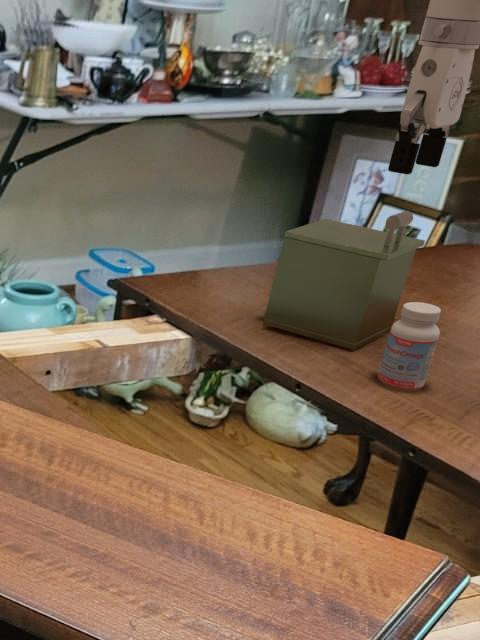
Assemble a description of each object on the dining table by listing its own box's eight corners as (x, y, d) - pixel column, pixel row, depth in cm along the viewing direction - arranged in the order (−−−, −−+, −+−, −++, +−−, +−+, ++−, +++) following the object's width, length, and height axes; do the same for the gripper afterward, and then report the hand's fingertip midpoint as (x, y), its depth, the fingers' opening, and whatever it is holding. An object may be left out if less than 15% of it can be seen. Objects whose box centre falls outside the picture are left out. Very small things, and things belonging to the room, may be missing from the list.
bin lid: (423, 245, 164) (434, 210, 162) (386, 260, 156) (397, 223, 153) (324, 223, 173) (333, 189, 171) (284, 236, 165) (292, 200, 162)
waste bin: (390, 331, 172) (417, 244, 165) (353, 350, 163) (380, 259, 156) (302, 307, 181) (324, 224, 173) (262, 324, 172) (284, 237, 165)
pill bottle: (368, 388, 150) (390, 307, 144) (385, 376, 154) (406, 297, 148) (414, 399, 147) (437, 317, 141) (429, 387, 151) (453, 306, 145)
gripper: (456, 39, 140) (415, 180, 149) (502, 35, 150) (462, 167, 159) (397, 33, 144) (362, 171, 153) (447, 30, 155) (411, 158, 164)
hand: (413, 169), depth 156 cm, fingers open, 9 cm apart
